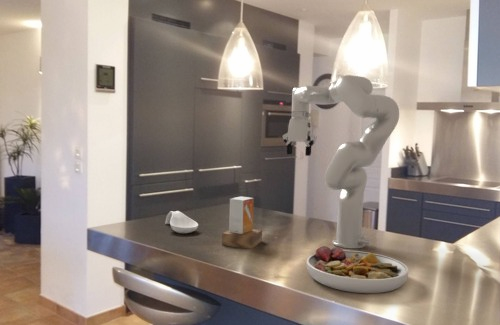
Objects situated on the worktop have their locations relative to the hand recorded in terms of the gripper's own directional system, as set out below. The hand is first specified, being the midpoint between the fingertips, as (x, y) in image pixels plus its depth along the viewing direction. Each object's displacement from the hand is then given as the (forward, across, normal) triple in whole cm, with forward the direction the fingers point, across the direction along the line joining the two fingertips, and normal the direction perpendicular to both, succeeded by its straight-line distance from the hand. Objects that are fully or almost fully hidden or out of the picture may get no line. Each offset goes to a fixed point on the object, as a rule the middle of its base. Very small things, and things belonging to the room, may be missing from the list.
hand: (298, 154), depth 206 cm
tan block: (+34, +1, +36) cm, 49 cm away
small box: (+29, +2, +36) cm, 46 cm away
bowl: (+34, -51, +44) cm, 75 cm away
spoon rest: (+34, +36, +37) cm, 62 cm away
